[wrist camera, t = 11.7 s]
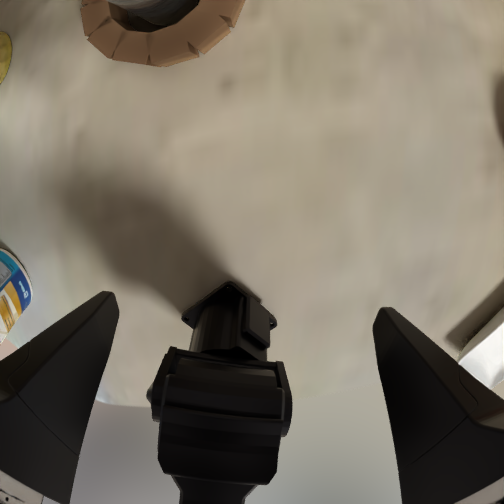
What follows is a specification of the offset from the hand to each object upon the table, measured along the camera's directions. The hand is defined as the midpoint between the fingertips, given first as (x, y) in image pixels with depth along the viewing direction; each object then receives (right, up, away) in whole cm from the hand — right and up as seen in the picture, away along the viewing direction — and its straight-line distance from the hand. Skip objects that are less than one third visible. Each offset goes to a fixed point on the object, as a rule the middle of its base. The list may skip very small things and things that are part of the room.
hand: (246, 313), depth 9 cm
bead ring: (-5, +19, +4) cm, 20 cm away
